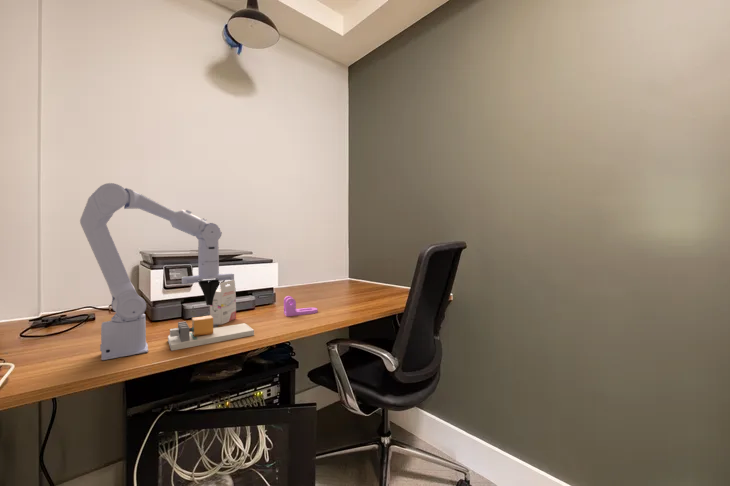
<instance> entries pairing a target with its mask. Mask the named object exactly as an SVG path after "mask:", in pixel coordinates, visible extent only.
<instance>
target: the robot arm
mask: <svg viewBox="0 0 730 486" xmlns="http://www.w3.org/2000/svg"><path fill="white" fill-rule="evenodd" d="M121 208H124V210H134V209H135V210H141V211H144V212H146V213H149V214H152V215H153V216H156V217H159V218H162V219H163V220H166V221H169V222H170V224H171V225H170V226H172V228H173V229H175V230H178V231H181V232H183V233H186V234H188V235H190V236H193V237H196V239H197V241H198V247H197V248H198V249H197V250H198V254H197V255H198V258H197V259H198V260H197V262H198V263H197V264H198V267H197V268H198V270H197V271H198V275H189V276H182V277H181V284H182V285H185V284H186V285H187V284H193V283H194V284H197V283H198V286H199V287H200V289H201V291H202V294H203V297H204V300H205V305H206V306H210V305H212V303H213V298H214V295H215V292H216V290H217V289H219V286H220V281H221V282H222V281H231V280H234V281H235V274H234V273H220V265H219V264H220V261H219V260H220V256H219V255H220V250H219V248H220V247H219V239H221V237H222V234H223V233H222V231H221V228H220V227H219V225H217V224H216V223H215V222H214V223H213V222H207V221H208V220H207V219H206V218H205V217H204V218H201V217H199V216H197V215H194V214H192V213H193V212H192V211H190V210H189V209H186V210H184V209H180V210H177V211H175V210H174V209H172V208H170V207H167V206H166V205H164V204H161V203H159V202H157V201H156V200H154V199H151V198H150V197H148V196H146V195H144V194H143V193H140V192H137V191H135V190H133V189H130V188H127V187H125V188H124V187H123V186H122V185H120V184H117V183H112V182H109V183H104V184H101V185H100V186H99V187H98V188H96V190H95V191H93V193H92V194H91V195H90V196H89V197H88V199H87V201H86V204H85V206H84V209H83V212H82V214H81V216H80V220H79V222H80V223H79V224H80V226H81V228H82V231H83V234H84V235H85V237H86V239H87V242H88V244H89V246H90V248H91V251H92V252H93V256H94V258H95V260H96V262H97V265H98V267H99V268H100V271H101V273H102V276H103V277H104V279H105V282H106V284H107V286H108V289H109V292H110V295H111V308H112V310H113V311H114V312H115V314H113V316H112V317H111V320H108V321H102V322H101V325H100V327H101V328H100V332H101V333H100V340H101V341H100V342H101V344H100V345H99V346H100V347H99V350H100V352H101V359H100V360H101V361H106V360H111V359H116V358H118V359H119V358H122V357H127V356H134V355H138V354H139V355H140V354H145V353H148V352H149V345H148V342H147V335H146V333H147V330H146V328H147V327H146V326H147V325H146V322H147V321H146V314H145V312H146V310H147V302H146V301H145V299H144V298H143V297H141V296H140V295H139V294H138V292H137V291H136V288H135V286H134V285H133V283H132V281H131V279H130V277H129V275H128V272H127V270H126V267H125V265H124V263H123V260H122V259H121V256H120V253H119V251H118V249H117V246H116V244H115V241H114V240H113V237H112V235H111V232H110V230H109V228H108V224H107V223H108V222H109V221H110V220H111V218H112V217H113V216H114V214H115V213H116V212H117V211H119V210H120V209H121Z"/></svg>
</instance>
